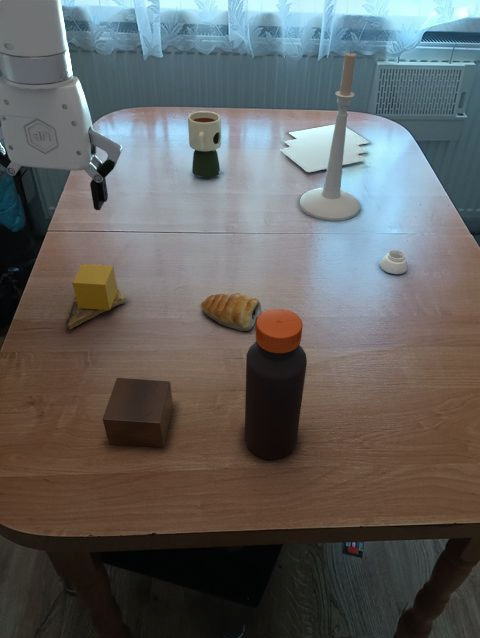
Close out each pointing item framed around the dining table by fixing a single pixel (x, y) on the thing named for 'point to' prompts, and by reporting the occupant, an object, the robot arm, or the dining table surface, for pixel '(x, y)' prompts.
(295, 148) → the paper stack
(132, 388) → the walnut block
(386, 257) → the white jar
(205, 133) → the character mug
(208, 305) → the pastry
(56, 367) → the dining table surface
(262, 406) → the bottle
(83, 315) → the toasted sandwich
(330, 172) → the candlestick
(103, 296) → the mustard block
